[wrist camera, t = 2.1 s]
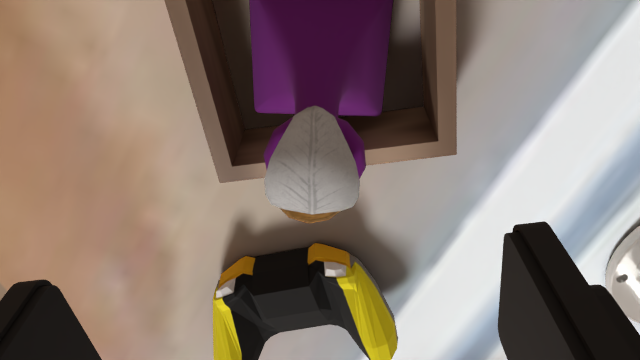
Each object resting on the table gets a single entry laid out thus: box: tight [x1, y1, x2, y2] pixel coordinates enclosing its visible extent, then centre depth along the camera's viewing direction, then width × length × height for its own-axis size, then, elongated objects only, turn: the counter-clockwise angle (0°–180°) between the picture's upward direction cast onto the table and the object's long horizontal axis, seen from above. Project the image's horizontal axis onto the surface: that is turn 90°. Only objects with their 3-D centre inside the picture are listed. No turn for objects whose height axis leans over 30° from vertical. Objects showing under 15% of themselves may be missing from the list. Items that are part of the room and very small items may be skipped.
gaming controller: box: [213, 243, 398, 360], centre depth 38 cm, size 15×6×10 cm
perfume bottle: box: [249, 0, 393, 223], centre depth 22 cm, size 8×8×18 cm
